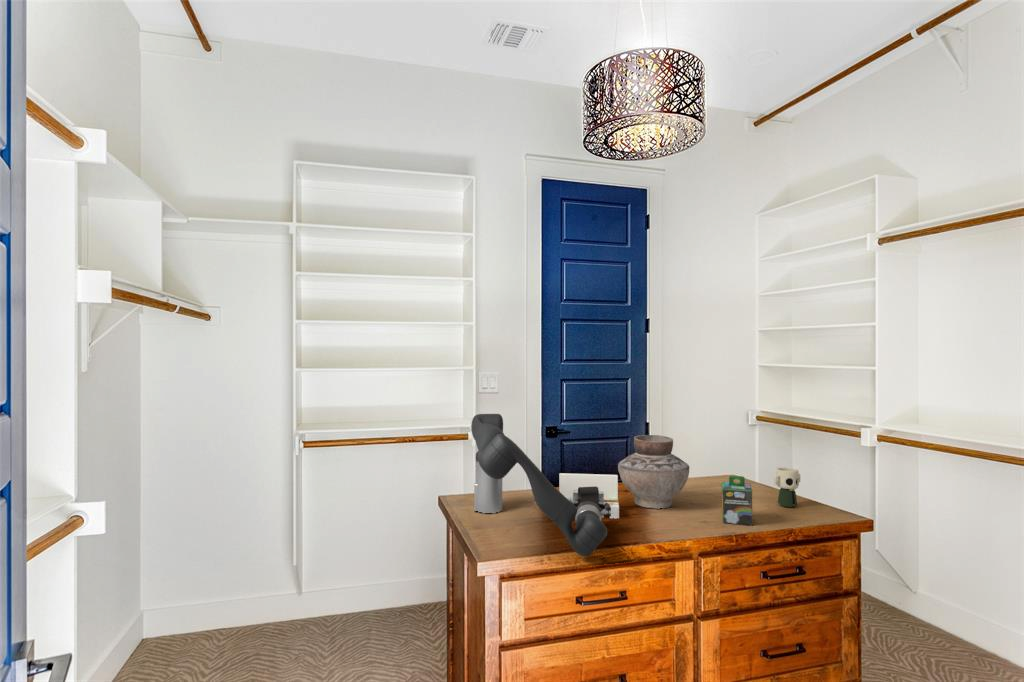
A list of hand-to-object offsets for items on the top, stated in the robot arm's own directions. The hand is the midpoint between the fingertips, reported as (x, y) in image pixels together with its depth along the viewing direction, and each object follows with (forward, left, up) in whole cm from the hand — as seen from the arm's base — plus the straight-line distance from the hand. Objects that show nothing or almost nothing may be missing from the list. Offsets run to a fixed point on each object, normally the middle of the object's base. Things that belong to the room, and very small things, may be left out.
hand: (588, 502), depth 190 cm
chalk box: (+48, +9, -7) cm, 49 cm away
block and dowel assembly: (+2, +7, -6) cm, 10 cm away
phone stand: (0, -2, -7) cm, 7 cm away
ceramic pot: (+23, +25, -7) cm, 34 cm away
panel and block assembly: (0, +12, -7) cm, 13 cm away
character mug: (+70, +29, -7) cm, 76 cm away
